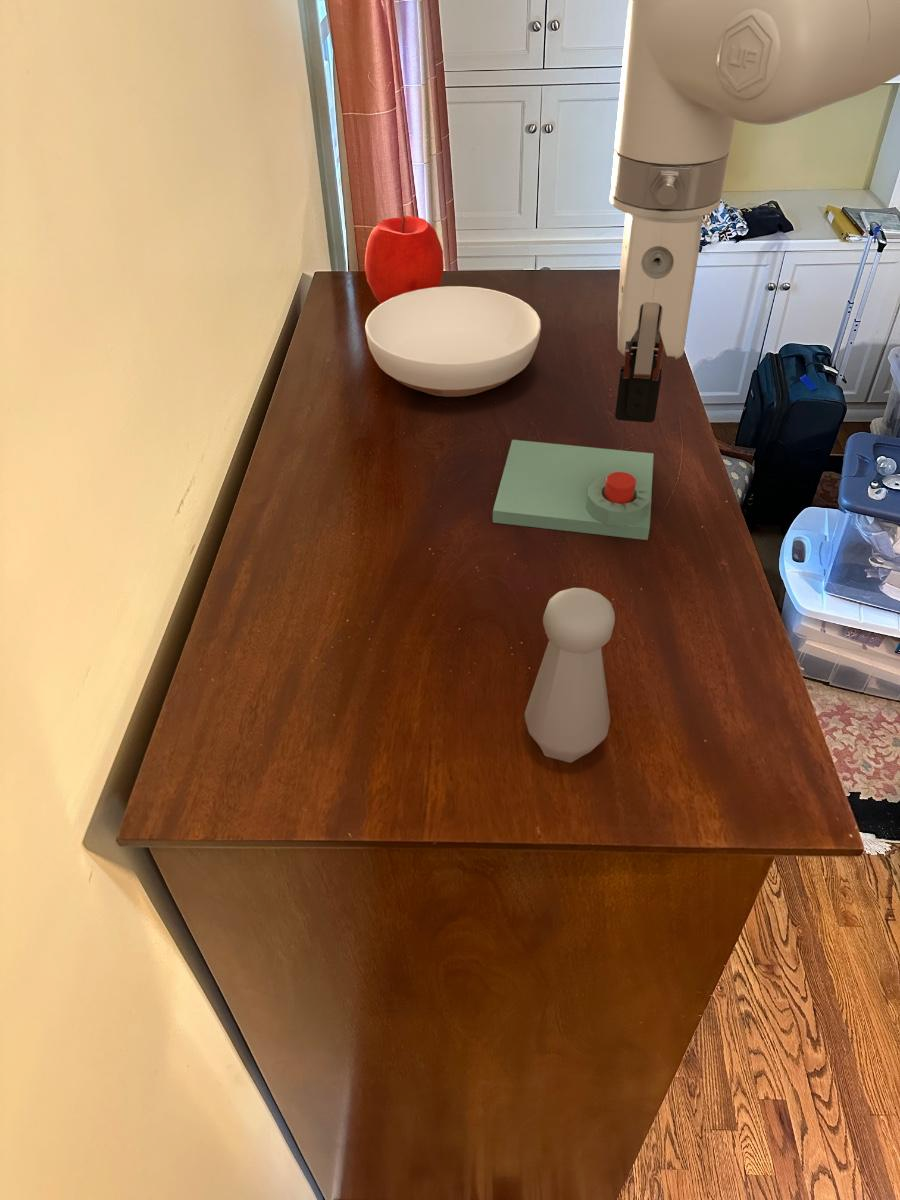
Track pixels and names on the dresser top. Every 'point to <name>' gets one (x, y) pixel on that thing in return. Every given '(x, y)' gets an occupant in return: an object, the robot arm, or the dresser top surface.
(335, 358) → the dresser top surface
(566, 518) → the green flat block
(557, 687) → the salt shaker
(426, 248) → the apple
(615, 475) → the button
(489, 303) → the bowl
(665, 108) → the robot arm
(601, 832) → the dresser top surface
